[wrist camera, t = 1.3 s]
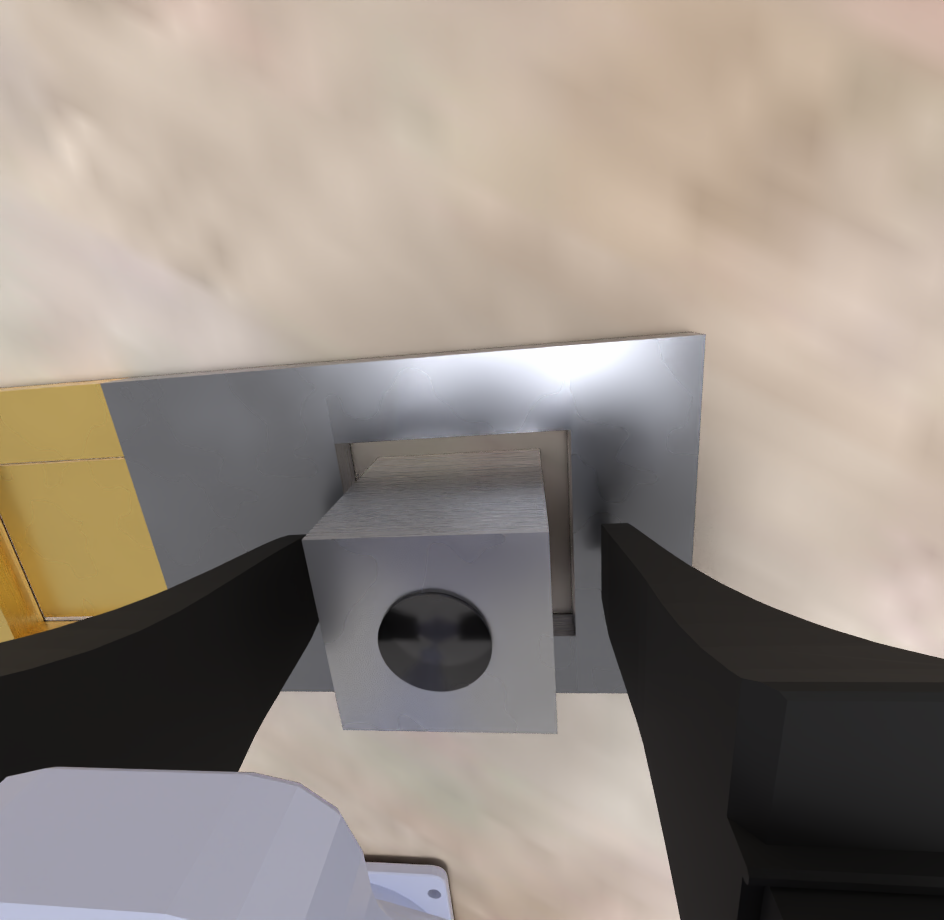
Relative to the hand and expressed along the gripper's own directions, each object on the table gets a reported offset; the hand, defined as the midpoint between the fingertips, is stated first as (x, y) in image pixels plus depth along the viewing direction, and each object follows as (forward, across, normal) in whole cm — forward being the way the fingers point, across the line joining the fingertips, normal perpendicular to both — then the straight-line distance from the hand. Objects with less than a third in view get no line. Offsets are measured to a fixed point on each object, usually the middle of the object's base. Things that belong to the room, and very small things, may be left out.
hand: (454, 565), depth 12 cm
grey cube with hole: (+2, 0, 0) cm, 2 cm away
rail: (+2, +6, 0) cm, 6 cm away
